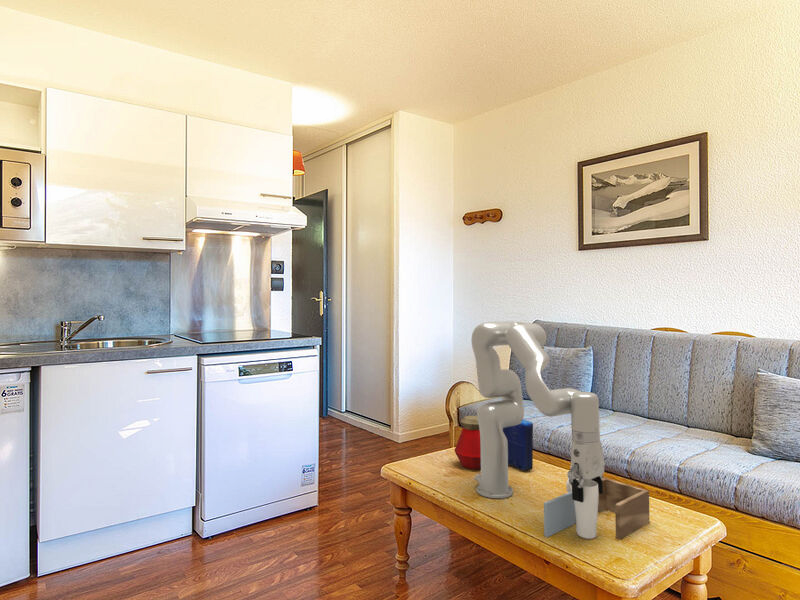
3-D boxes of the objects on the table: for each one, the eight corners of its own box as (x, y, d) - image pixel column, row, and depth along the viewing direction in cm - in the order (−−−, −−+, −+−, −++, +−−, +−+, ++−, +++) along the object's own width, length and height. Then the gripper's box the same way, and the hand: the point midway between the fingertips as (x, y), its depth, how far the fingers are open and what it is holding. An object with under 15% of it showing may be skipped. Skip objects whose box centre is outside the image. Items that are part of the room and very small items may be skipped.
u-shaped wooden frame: (574, 521, 148) (573, 490, 148) (604, 506, 158) (604, 477, 158) (619, 539, 136) (619, 505, 136) (649, 522, 147) (649, 490, 147)
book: (500, 463, 203) (499, 415, 203) (509, 461, 205) (509, 413, 205) (524, 473, 190) (524, 422, 190) (534, 471, 193) (534, 420, 193)
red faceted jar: (498, 466, 199) (498, 417, 199) (479, 475, 189) (478, 423, 189) (467, 458, 210) (466, 411, 210) (447, 465, 200) (447, 417, 200)
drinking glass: (586, 543, 135) (585, 488, 135) (568, 532, 141) (568, 480, 141) (604, 538, 137) (603, 484, 137) (586, 528, 144) (585, 477, 144)
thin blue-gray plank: (572, 522, 147) (572, 490, 147) (575, 523, 147) (575, 491, 147) (544, 536, 139) (543, 502, 139) (547, 537, 138) (546, 503, 138)
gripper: (580, 444, 131) (582, 508, 130) (614, 433, 141) (616, 493, 141) (556, 438, 137) (558, 500, 136) (590, 429, 147) (592, 486, 147)
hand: (587, 496), depth 139 cm, fingers open, 9 cm apart
